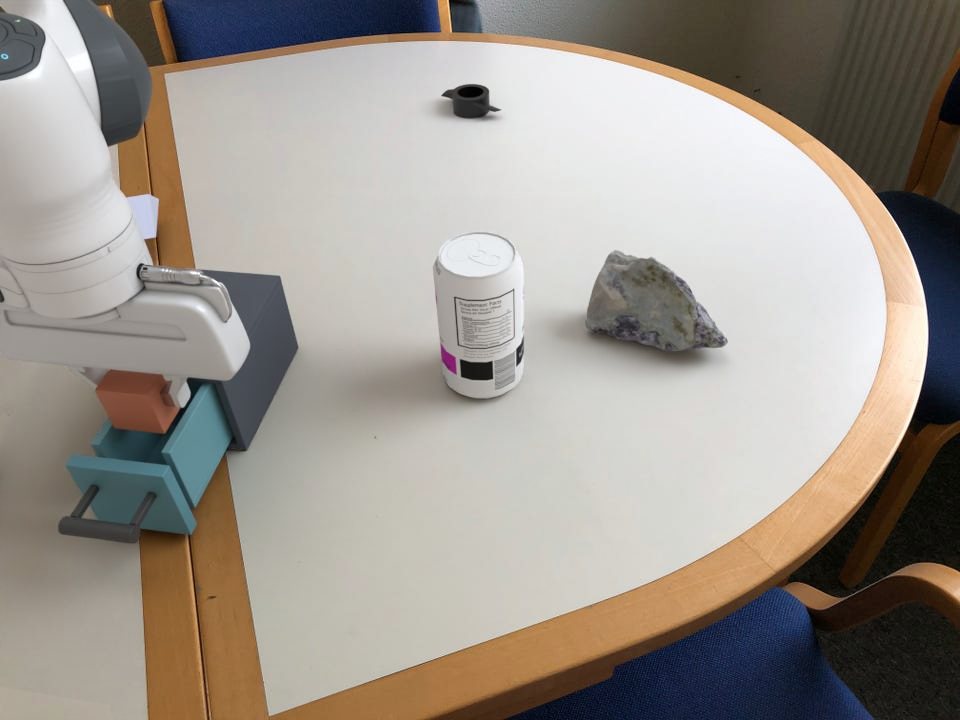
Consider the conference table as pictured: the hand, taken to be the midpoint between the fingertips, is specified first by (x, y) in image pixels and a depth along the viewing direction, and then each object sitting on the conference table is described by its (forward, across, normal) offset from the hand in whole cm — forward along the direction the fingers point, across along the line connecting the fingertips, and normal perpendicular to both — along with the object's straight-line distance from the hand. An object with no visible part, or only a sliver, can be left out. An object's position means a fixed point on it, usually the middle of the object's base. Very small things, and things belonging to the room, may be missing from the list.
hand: (145, 398), depth 65 cm
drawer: (+9, 0, +2) cm, 10 cm away
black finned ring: (+10, -13, -76) cm, 77 cm away
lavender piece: (+10, +25, -33) cm, 43 cm away
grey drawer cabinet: (+10, 0, -11) cm, 15 cm away
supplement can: (+10, -25, -17) cm, 32 cm away
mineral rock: (+10, -42, -24) cm, 49 cm away
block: (+2, 0, 0) cm, 2 cm away
